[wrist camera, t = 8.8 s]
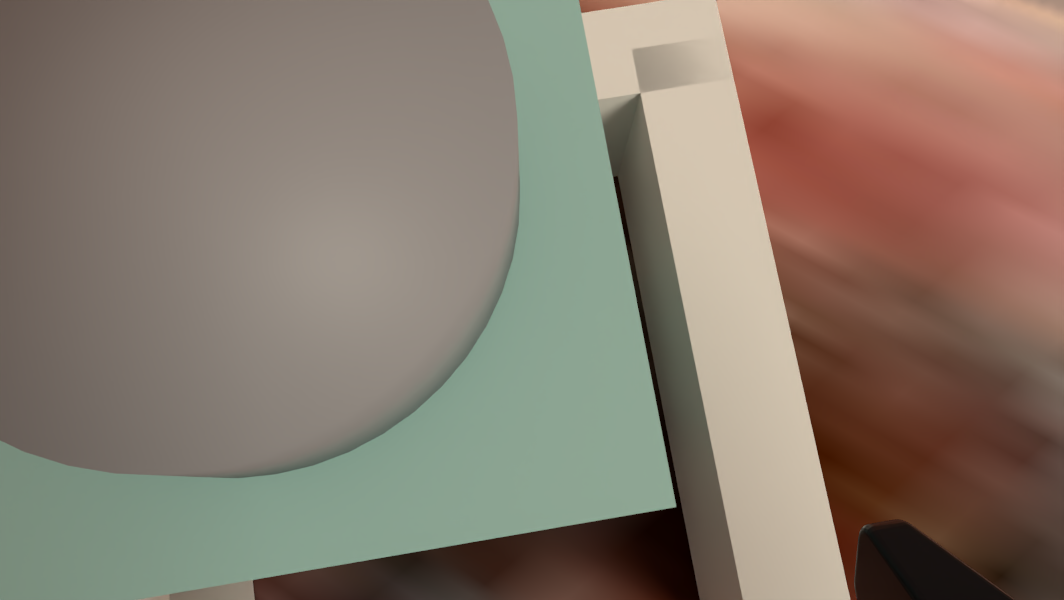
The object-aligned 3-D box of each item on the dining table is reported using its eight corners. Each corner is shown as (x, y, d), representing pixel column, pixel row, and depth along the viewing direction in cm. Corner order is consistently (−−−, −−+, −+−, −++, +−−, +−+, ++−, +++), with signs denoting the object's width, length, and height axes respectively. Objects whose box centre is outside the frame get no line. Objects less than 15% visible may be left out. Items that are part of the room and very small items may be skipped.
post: (571, 495, 18) (713, 511, 4) (358, 531, 17) (-287, 685, 4) (535, 288, 18) (548, -315, 5) (331, 321, 18) (-282, -196, 4)
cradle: (787, 616, 17) (862, 654, 13) (182, 723, 17) (74, 793, 13) (676, 95, 19) (714, -7, 15) (134, 180, 19) (29, 97, 15)
